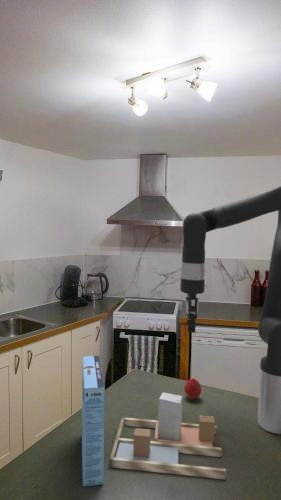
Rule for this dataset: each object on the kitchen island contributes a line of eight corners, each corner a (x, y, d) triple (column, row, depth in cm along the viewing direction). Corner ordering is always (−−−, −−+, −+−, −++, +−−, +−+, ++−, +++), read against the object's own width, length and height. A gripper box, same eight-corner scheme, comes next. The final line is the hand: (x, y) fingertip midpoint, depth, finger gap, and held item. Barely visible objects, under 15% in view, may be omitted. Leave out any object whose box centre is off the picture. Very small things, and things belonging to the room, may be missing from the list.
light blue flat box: (103, 485, 75) (105, 387, 73) (80, 487, 74) (82, 389, 73) (99, 433, 94) (100, 355, 93) (81, 434, 93) (82, 355, 92)
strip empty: (177, 452, 86) (178, 427, 86) (178, 470, 80) (179, 444, 79) (119, 446, 88) (120, 422, 88) (115, 463, 81) (115, 437, 81)
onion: (200, 395, 117) (201, 373, 117) (201, 404, 112) (202, 381, 111) (183, 394, 118) (184, 372, 117) (184, 402, 112) (185, 379, 112)
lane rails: (216, 432, 96) (216, 425, 96) (225, 479, 77) (226, 471, 77) (121, 423, 99) (122, 417, 99) (109, 467, 80) (109, 459, 80)
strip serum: (211, 433, 95) (212, 411, 94) (215, 452, 86) (216, 428, 86) (156, 428, 97) (156, 406, 96) (154, 446, 88) (155, 422, 88)
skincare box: (181, 436, 93) (183, 395, 92) (178, 445, 89) (180, 403, 88) (160, 431, 95) (162, 391, 94) (156, 440, 91) (158, 398, 90)
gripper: (207, 281, 95) (204, 335, 96) (203, 274, 109) (201, 322, 110) (181, 279, 96) (179, 334, 97) (180, 273, 110) (178, 321, 111)
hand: (190, 328), depth 103 cm, fingers open, 8 cm apart
